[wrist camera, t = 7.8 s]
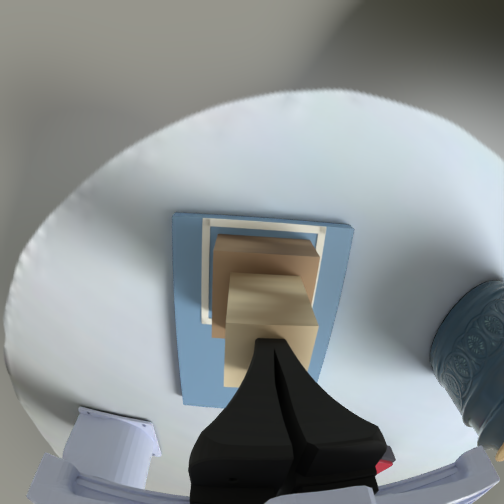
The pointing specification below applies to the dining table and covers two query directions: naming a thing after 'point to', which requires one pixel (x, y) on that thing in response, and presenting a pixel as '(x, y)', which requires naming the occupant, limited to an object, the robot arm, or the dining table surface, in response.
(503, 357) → the canister
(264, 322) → the maple block
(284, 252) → the walnut base
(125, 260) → the dining table surface
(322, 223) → the board
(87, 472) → the robot arm
